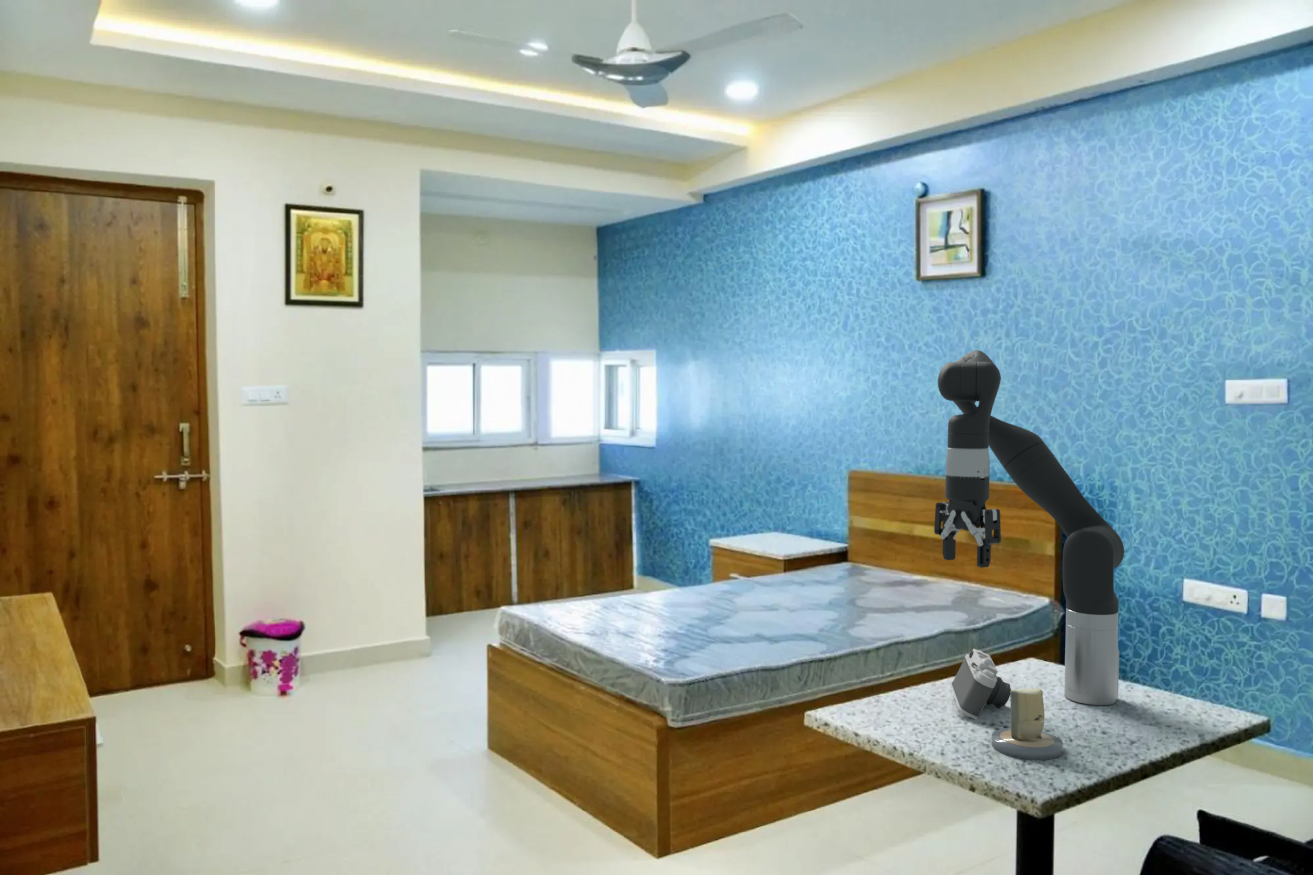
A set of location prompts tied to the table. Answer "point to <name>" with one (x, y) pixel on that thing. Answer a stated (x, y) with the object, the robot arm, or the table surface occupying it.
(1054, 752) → the coaster
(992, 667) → the camera
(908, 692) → the table surface
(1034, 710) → the off-white rounded piece
